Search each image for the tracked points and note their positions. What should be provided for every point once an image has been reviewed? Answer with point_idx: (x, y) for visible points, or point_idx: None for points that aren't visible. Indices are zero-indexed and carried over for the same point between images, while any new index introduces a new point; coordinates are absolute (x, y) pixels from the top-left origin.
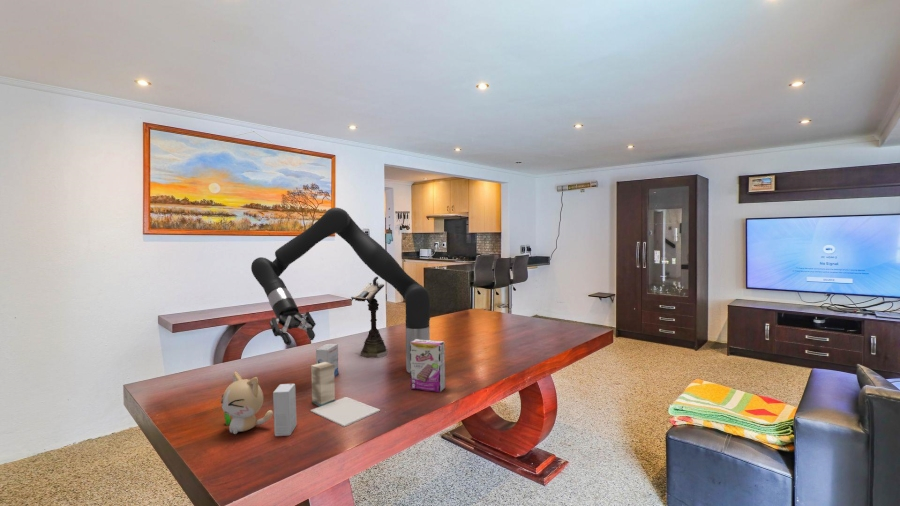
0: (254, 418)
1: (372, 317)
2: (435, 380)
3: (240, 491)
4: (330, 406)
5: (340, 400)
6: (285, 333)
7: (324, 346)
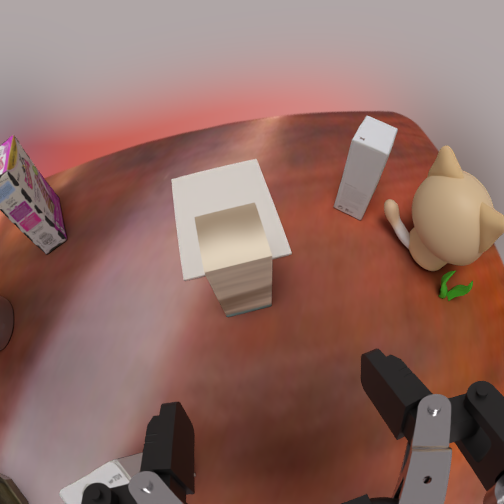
0: (415, 229)
1: None
2: (49, 189)
3: (397, 117)
4: None
5: None
6: (419, 396)
7: None
